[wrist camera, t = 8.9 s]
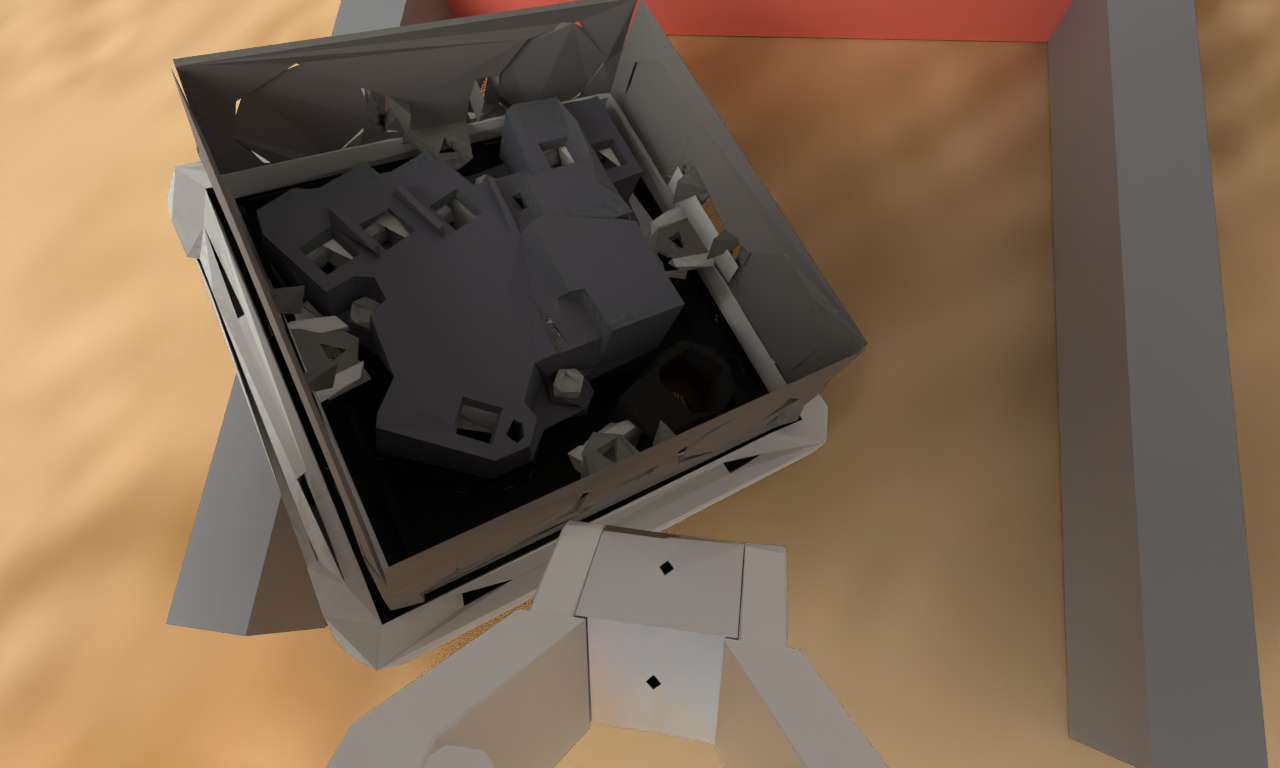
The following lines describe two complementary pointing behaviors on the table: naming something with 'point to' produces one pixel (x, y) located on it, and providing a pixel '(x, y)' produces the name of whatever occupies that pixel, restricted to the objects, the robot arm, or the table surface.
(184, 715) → the table surface
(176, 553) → the table surface
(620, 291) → the electrical switch
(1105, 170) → the frame
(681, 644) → the robot arm
